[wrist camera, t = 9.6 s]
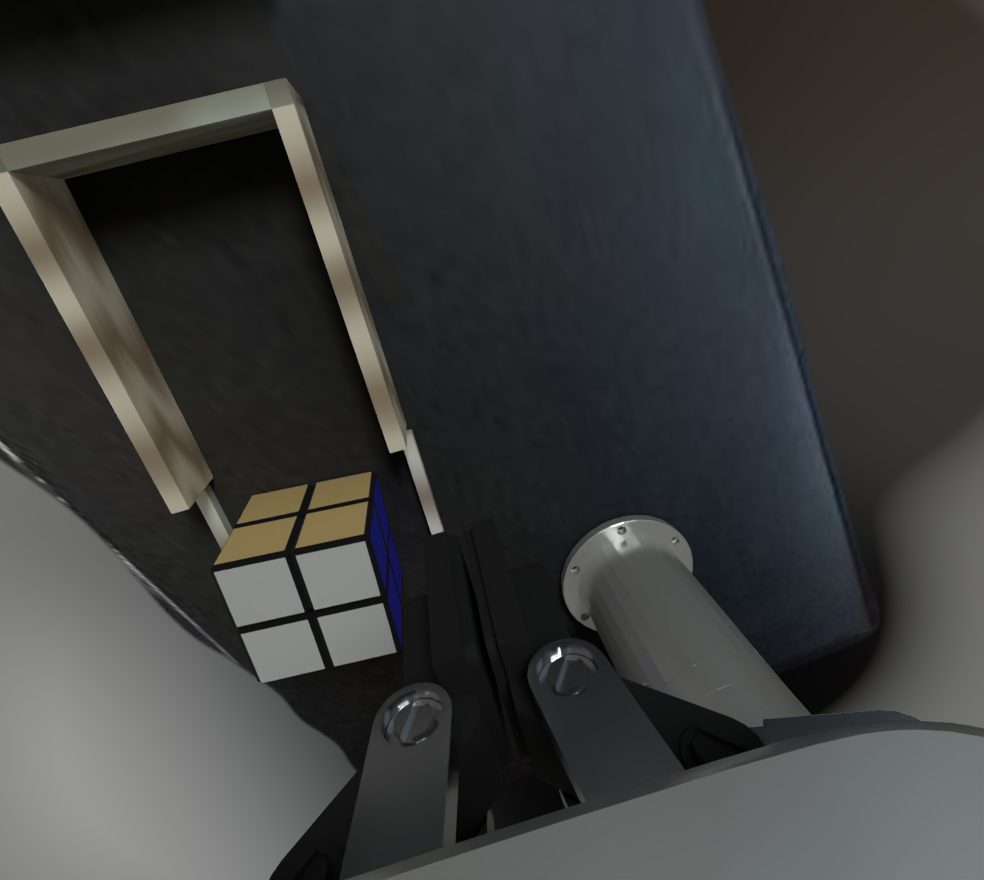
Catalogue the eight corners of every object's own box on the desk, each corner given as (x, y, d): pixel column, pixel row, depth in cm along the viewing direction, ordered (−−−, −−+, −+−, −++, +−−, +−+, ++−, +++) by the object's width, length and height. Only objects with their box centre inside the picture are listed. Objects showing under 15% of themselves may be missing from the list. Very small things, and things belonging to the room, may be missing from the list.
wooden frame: (452, 556, 47) (457, 592, 42) (261, 612, 46) (245, 655, 41) (306, 97, 33) (290, 76, 28) (27, 163, 32) (-36, 152, 27)
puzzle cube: (402, 570, 46) (402, 654, 37) (287, 595, 46) (257, 688, 36) (376, 468, 42) (368, 535, 33) (249, 494, 42) (205, 569, 32)
